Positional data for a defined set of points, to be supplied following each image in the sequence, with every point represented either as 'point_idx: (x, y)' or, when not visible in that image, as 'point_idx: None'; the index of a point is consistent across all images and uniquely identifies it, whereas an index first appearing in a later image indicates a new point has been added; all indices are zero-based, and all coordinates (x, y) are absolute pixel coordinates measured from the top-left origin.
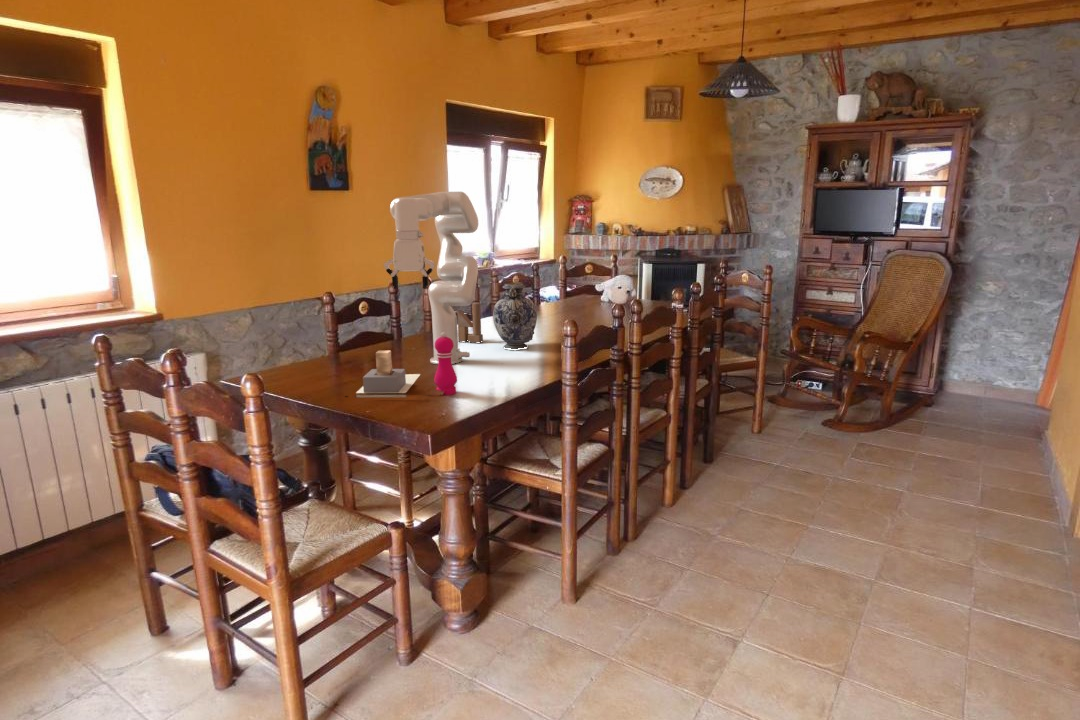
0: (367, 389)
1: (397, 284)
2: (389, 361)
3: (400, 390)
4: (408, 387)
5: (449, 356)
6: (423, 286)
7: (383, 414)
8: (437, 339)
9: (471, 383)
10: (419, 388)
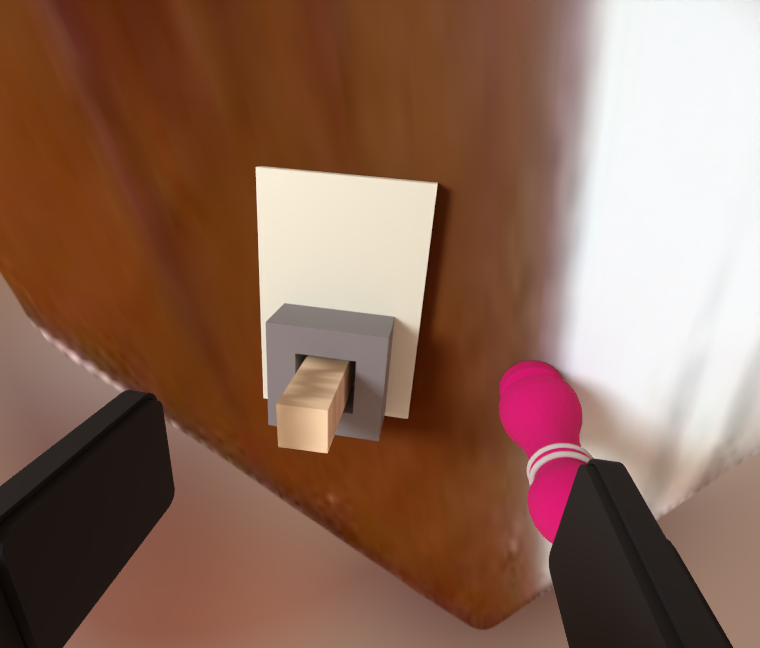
0: None
1: (132, 471)
2: (336, 417)
3: (388, 394)
4: (409, 366)
5: None
6: (564, 595)
7: (372, 523)
8: (549, 533)
9: (634, 286)
10: (441, 324)
